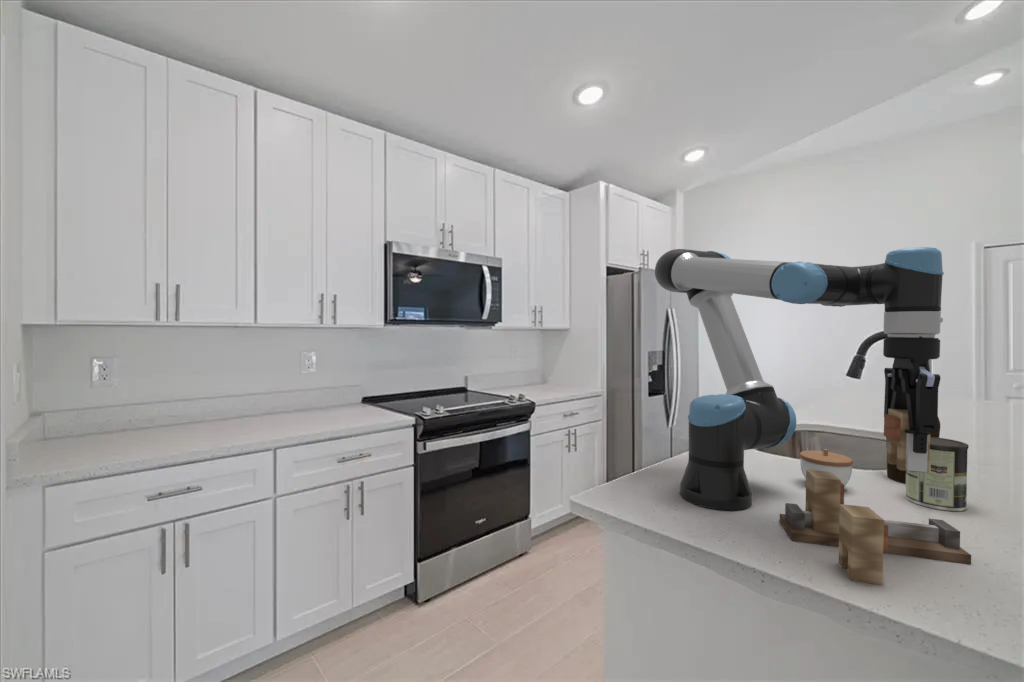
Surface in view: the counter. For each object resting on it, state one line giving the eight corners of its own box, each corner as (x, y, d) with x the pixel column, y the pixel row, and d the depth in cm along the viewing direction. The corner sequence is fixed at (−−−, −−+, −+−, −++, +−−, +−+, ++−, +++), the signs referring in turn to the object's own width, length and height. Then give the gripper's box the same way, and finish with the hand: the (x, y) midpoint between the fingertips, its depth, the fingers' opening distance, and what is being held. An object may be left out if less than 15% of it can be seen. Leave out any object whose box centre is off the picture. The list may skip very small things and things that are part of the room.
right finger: (894, 469, 79) (896, 413, 78) (881, 461, 83) (883, 408, 83) (928, 472, 77) (931, 415, 77) (913, 464, 82) (914, 409, 82)
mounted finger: (814, 531, 83) (815, 477, 83) (805, 520, 88) (806, 469, 88) (844, 535, 81) (845, 480, 81) (833, 523, 86) (834, 472, 86)
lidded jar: (858, 497, 104) (859, 457, 104) (804, 491, 108) (805, 452, 108) (844, 482, 114) (844, 446, 114) (795, 477, 118) (795, 442, 118)
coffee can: (944, 496, 105) (945, 436, 105) (980, 513, 95) (982, 447, 95) (893, 492, 107) (895, 434, 107) (923, 509, 97) (925, 445, 97)
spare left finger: (851, 580, 69) (852, 516, 69) (838, 563, 74) (839, 504, 74) (888, 585, 68) (890, 520, 68) (873, 568, 73) (874, 507, 73)
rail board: (792, 540, 82) (792, 516, 82) (779, 520, 91) (779, 499, 91) (971, 564, 74) (971, 537, 74) (938, 539, 83) (939, 515, 83)
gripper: (971, 337, 70) (966, 484, 70) (910, 335, 87) (906, 454, 88) (912, 336, 72) (907, 479, 73) (864, 335, 89) (860, 450, 90)
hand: (907, 465), depth 80 cm, fingers closed on right finger, 5 cm apart
